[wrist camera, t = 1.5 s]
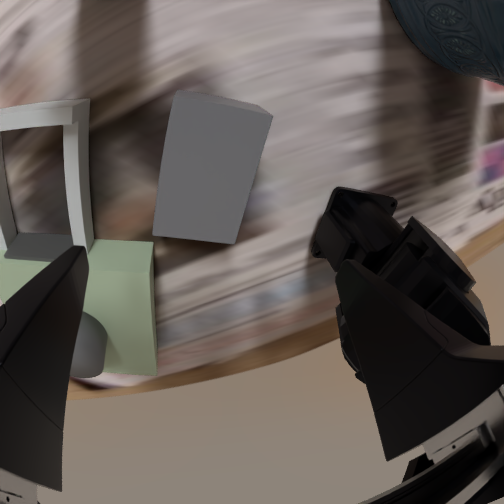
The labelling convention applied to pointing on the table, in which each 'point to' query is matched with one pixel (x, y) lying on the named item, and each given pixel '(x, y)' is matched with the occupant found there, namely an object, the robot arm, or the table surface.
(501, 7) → the canister
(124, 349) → the green block with frame
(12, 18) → the table surface
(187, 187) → the gray rectangular prism
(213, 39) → the table surface
